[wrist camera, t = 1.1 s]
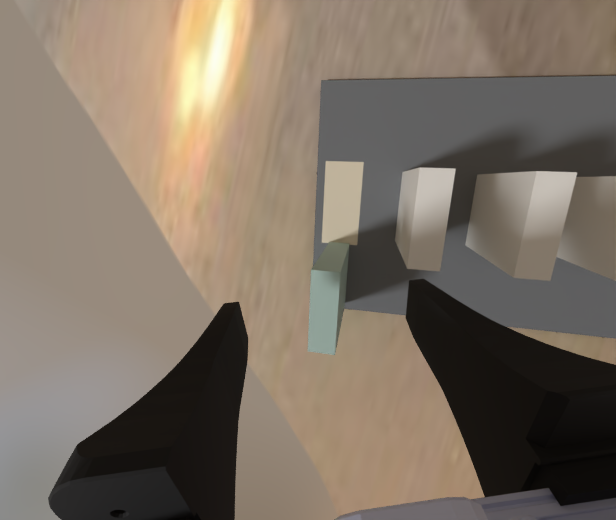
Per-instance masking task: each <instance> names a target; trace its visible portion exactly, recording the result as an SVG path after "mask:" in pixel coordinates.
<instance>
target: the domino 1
mask: <svg viewBox="0 0 616 520" xmlns="http://www.w3.org/2000/svg"><path fill="white" fill-rule="evenodd" d="M348 257H349V243H337V242H329V243H328V245H327V246H326V248H325V249H324V251H323V252H322V254H321V255H320V257H319V258H318V260H317V261H316V263H315V265H314V266H313V268H312V269H311V286H310V310H309V334H308V351H310V352H317V353H324V354H332V355H335V352H336V347H337V342H338V337H339V332H340V326H341V321H342V316H343V311H344V306H345V298H346V284H347V271H348Z"/></svg>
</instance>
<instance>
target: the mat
mask: <svg viewBox="0 0 616 520" xmlns="http://www.w3.org/2000/svg"><path fill="white" fill-rule="evenodd" d="M420 167H421V168H453V169H456V170H455V177H454V183H453V190H452V196H451V203H450V209H449V216H448V222H447V229H446V235H445V242H444V249H443V255H442V262H441V268H440V271H428V270H416V269H407V267H406V265H405V262H404V260H403V258H402V256H401V253H400V251H399V249H398V246H397V244H396V242H395V235H396V226H397V217H398V208H399V199H400V190H401V181H402V172H404V171H408V170H412V169H416V168H420ZM530 171H550V172H577V176H576V177H600V176H616V76H566V77H503V78H441V79H379V80H321V99H320V122H319V145H318V167H317V190H316V213H315V236H314V259H313V266H314V265H315V263H316V261H317V260H318V258H319V257H320V255H321V254H322V252H323V251H324V249H325V248H326V246H327V245H328V243H329V242H337V243H349V257H348V271H347V284H346V298H345V306H344V309H354V310H363V311H372V312H381V313H390V314H399V315H406V308H407V297H408V286H409V280H415V279H425V280H427V281H428V282H430V283H431V284H433V285H435V286H436V287H438V288H439V289H441V290H442V291H444V292H445V293H447V294H448V295H450V296H452V297H453V298H455V299H456V300H458V301H459V302H461V303H463V304H464V305H466V306H468V307H469V308H471V309H473V310H474V311H476V312H478V313H480V314H482V315H484V316H485V317H487V318H489V319H491V320H493V321H495V322H497V323H499V324H501V325H503V326H507V327H516V328H525V329H534V330H544V331H553V332H562V333H571V334H580V335H589V336H598V337H607V338H616V281H614V280H612V279H610V278H607V277H605V276H602V275H600V274H597V273H595V272H592V271H590V270H587V269H585V268H582V267H580V266H578V265H575V264H573V263H570V262H568V261H565V260H563V259H560V258H558V257H556V260H555V264H554V268H553V272H552V276H551V280H550V281H545V280H533V279H521V278H513V277H512V276H510V275H509V274H507V273H506V272H504V271H503V270H501V269H500V268H498V267H497V266H495V265H494V264H492V263H491V262H489V261H488V260H486V259H485V258H483V257H482V256H480V255H479V254H477V253H476V252H474V251H473V250H472V249H470V248H469V247H467V246H466V245H465V244H466V238H467V232H468V226H469V220H470V215H471V209H472V203H473V197H474V191H475V185H476V179H477V175H478V174H495V173H512V172H530Z"/></svg>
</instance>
